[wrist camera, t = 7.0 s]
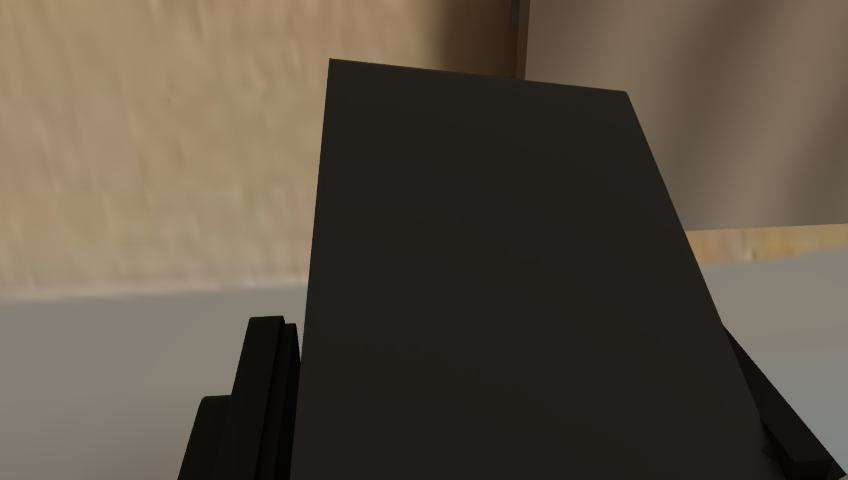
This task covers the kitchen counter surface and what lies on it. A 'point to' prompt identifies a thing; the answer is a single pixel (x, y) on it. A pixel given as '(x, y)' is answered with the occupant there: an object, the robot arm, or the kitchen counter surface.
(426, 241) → the phone stand
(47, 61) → the kitchen counter surface
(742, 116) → the trolley
